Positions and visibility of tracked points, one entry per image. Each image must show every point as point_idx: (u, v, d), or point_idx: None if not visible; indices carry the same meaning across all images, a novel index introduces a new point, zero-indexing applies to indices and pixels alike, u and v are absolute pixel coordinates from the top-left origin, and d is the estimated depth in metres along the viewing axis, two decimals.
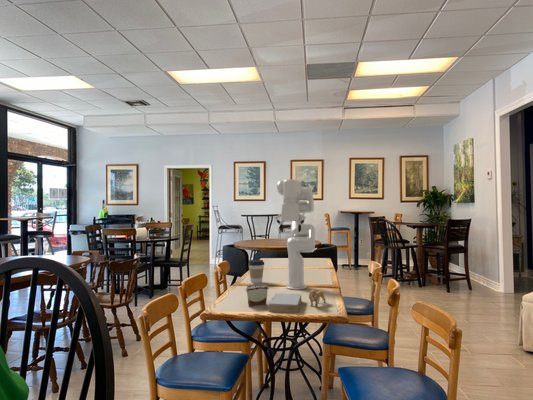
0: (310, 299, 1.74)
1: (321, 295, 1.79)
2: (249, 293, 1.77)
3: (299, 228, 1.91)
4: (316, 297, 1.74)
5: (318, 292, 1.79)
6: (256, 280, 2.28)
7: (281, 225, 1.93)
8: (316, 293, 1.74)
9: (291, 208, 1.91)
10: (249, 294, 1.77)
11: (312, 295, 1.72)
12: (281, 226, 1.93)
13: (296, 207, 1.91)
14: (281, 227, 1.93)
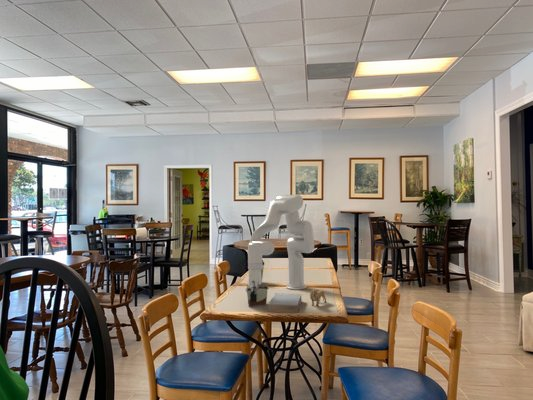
0: (311, 299, 1.75)
1: (322, 295, 1.80)
2: (249, 293, 1.77)
3: None
4: (317, 297, 1.75)
5: (319, 292, 1.80)
6: None
7: (256, 294, 1.76)
8: (317, 293, 1.75)
9: (260, 273, 1.81)
10: (249, 294, 1.77)
11: (313, 295, 1.73)
12: (256, 295, 1.76)
13: None
14: (256, 296, 1.76)
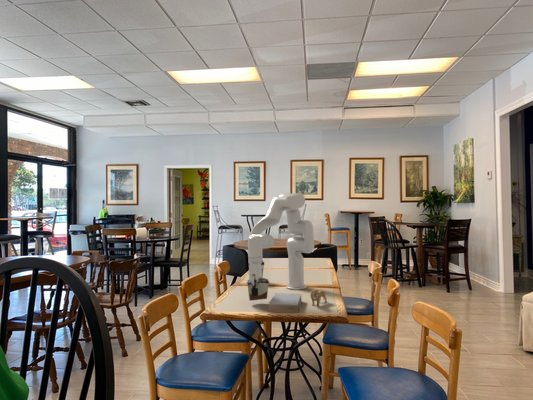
0: (312, 298, 1.75)
1: (322, 294, 1.80)
2: (249, 287, 1.78)
3: None
4: (318, 296, 1.75)
5: (319, 291, 1.80)
6: None
7: (257, 288, 1.77)
8: (318, 292, 1.75)
9: (260, 266, 1.82)
10: (249, 288, 1.78)
11: (314, 294, 1.73)
12: (257, 289, 1.77)
13: None
14: (257, 290, 1.77)
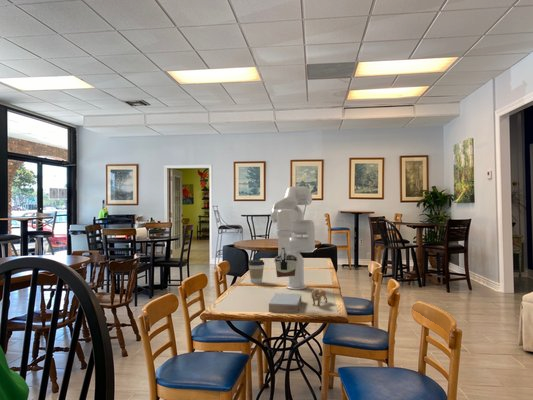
0: (312, 298, 1.76)
1: (323, 294, 1.81)
2: (277, 264, 1.74)
3: None
4: (318, 296, 1.76)
5: (320, 291, 1.81)
6: (256, 280, 2.28)
7: None
8: (318, 292, 1.76)
9: (289, 241, 1.78)
10: (277, 265, 1.74)
11: (315, 294, 1.74)
12: None
13: None
14: None
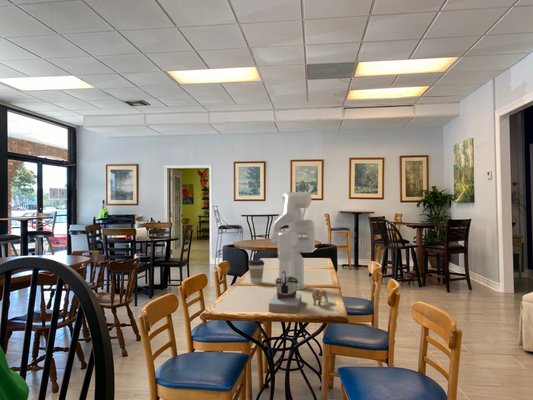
0: (313, 298, 1.76)
1: (324, 294, 1.82)
2: (278, 286, 1.74)
3: None
4: (319, 296, 1.76)
5: (321, 291, 1.81)
6: (256, 280, 2.28)
7: (287, 286, 1.73)
8: (319, 292, 1.76)
9: None
10: (278, 287, 1.74)
11: (316, 294, 1.74)
12: (287, 287, 1.73)
13: None
14: (287, 288, 1.73)
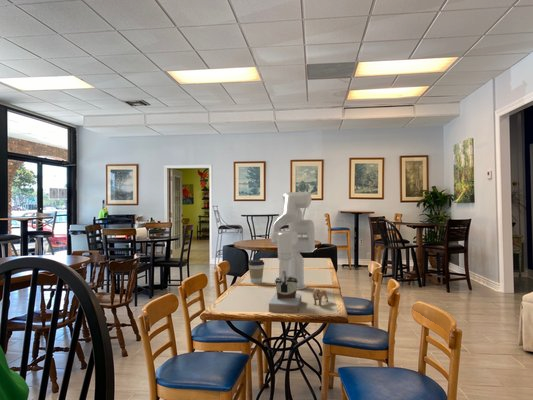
0: (314, 298, 1.76)
1: (324, 294, 1.82)
2: (277, 285, 1.75)
3: None
4: None
5: (321, 291, 1.81)
6: (256, 280, 2.28)
7: None
8: (320, 292, 1.77)
9: None
10: (277, 286, 1.75)
11: (316, 294, 1.74)
12: None
13: None
14: (287, 287, 1.72)
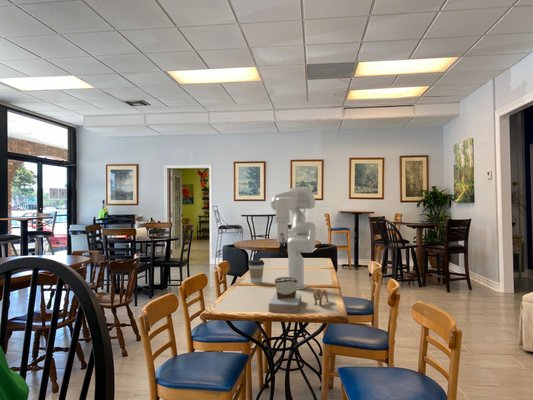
0: (315, 298, 1.77)
1: (324, 293, 1.82)
2: (277, 285, 1.75)
3: (287, 246, 1.93)
4: (320, 296, 1.77)
5: (321, 291, 1.82)
6: (256, 280, 2.28)
7: (285, 246, 1.83)
8: (320, 292, 1.77)
9: (287, 227, 1.89)
10: (277, 286, 1.75)
11: (317, 294, 1.75)
12: (285, 247, 1.83)
13: None
14: (285, 248, 1.83)
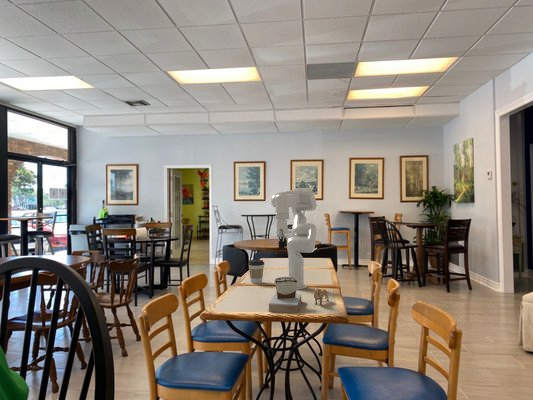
0: (315, 297, 1.77)
1: (325, 293, 1.83)
2: (277, 285, 1.75)
3: (286, 243, 1.95)
4: None
5: (322, 290, 1.82)
6: (256, 280, 2.28)
7: (284, 241, 1.85)
8: (321, 291, 1.77)
9: None
10: (277, 286, 1.75)
11: (317, 293, 1.75)
12: (284, 243, 1.85)
13: None
14: (284, 244, 1.85)
